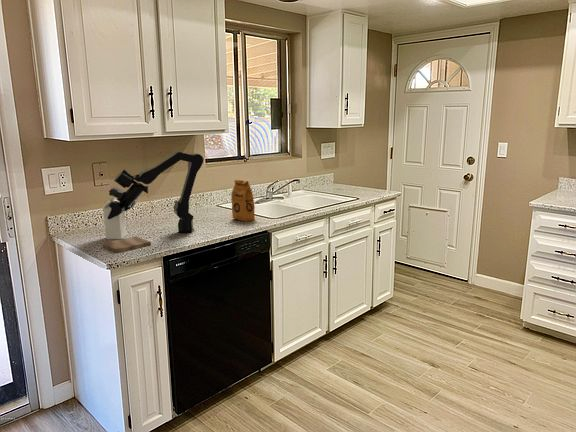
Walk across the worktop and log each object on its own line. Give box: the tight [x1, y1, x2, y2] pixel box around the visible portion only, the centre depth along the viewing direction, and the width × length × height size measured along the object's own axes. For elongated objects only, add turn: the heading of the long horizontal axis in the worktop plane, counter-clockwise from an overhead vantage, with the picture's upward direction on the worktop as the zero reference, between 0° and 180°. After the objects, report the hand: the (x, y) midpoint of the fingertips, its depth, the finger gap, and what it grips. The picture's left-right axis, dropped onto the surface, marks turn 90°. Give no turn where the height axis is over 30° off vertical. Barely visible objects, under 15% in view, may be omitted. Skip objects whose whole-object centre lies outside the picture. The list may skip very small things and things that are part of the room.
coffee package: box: [230, 179, 255, 223], centre depth 238 cm, size 10×12×22 cm
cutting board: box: [101, 235, 152, 254], centre depth 193 cm, size 16×14×2 cm
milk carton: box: [102, 196, 127, 240], centre depth 205 cm, size 7×7×19 cm
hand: (111, 216), depth 204 cm, fingers closed on milk carton, 7 cm apart
